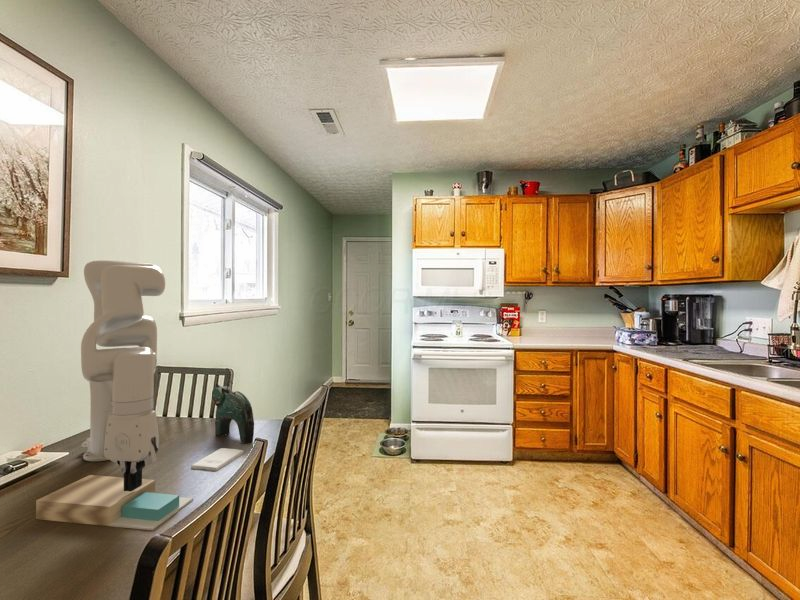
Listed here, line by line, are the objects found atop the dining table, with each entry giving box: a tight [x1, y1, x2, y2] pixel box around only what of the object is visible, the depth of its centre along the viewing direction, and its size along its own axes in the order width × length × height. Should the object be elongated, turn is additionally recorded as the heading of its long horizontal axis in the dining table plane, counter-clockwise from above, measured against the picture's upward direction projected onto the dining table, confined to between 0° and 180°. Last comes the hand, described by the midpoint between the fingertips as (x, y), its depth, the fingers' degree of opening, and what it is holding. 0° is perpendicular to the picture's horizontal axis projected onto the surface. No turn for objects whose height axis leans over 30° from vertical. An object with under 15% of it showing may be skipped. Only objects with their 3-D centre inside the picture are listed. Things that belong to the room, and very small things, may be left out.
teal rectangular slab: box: [121, 492, 180, 521], centre depth 83 cm, size 9×6×2 cm, turn 81°
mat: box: [109, 496, 194, 531], centre depth 83 cm, size 10×12×1 cm
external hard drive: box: [190, 447, 244, 472], centre depth 111 cm, size 2×8×12 cm
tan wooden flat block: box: [35, 474, 156, 527], centre depth 85 cm, size 18×12×4 cm, turn 82°
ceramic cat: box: [211, 379, 255, 446], centre depth 129 cm, size 20×6×20 cm, turn 55°
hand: (133, 488), depth 84 cm, fingers closed
